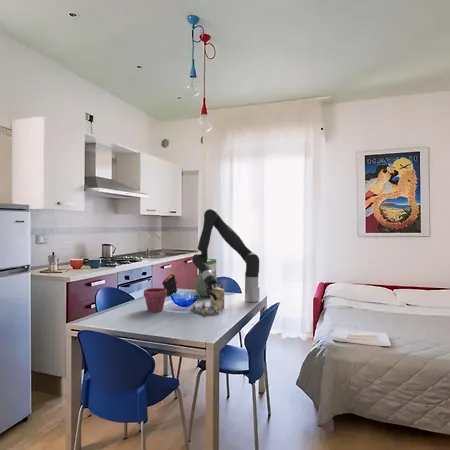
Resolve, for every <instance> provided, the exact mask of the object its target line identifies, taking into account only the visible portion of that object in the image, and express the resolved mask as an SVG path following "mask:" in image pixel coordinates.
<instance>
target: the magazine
mask: <svg viewBox="0 0 450 450" xmlns="http://www.w3.org/2000/svg"><path fill="white" fill-rule="evenodd" d="M177 284H178V282H177V280H176V275H175V274H169V275H168V276H167V277H166V278H165V279H164V280H163V281H162V283H161V285H163V288H164V289H167V296H166V297H169V296H173V295H172V294H173V293H176V292H178V288H177V287H178V286H177Z"/></svg>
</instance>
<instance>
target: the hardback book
mask: <svg viewBox="0 0 450 450" xmlns="http://www.w3.org/2000/svg"><path fill="white" fill-rule="evenodd" d="M206 264H207V265H208V266H209V267H210V270H212V271H213V270H214V271H215V272H216V273H215V274H216V275H217V258H208V260H207V262H206ZM199 274H200V270H199V269H198V275H199Z"/></svg>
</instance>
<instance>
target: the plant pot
mask: <svg viewBox="0 0 450 450" xmlns="http://www.w3.org/2000/svg"><path fill="white" fill-rule="evenodd" d="M143 297H144V298H145V299H144V300H145V305H146V309H147V312H150V313H159V312H162V311H163V310H164V306H165V302H166V297H168V296H167V289H164V287H152V288H146V289H144V290H143Z"/></svg>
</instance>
